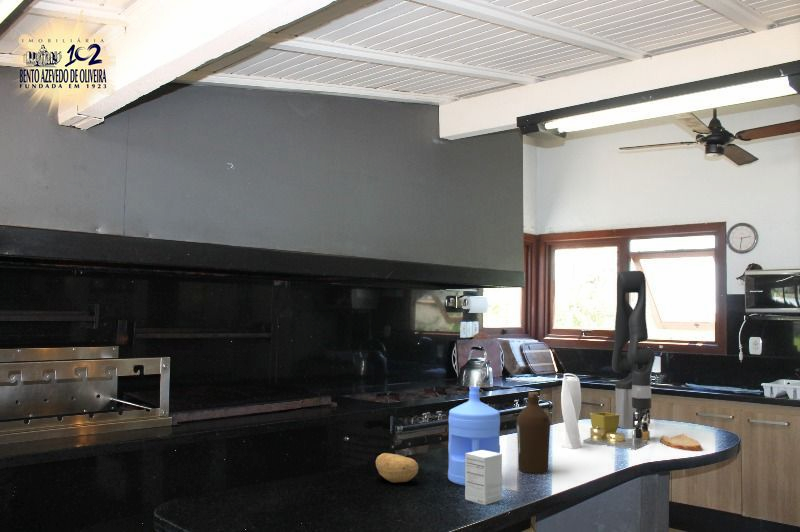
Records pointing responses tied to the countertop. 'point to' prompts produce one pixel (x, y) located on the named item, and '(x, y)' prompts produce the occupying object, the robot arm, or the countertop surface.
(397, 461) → the potato
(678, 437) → the slice of bread
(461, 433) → the water jug
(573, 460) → the countertop surface
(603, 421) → the flower pot
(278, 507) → the countertop surface
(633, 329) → the robot arm
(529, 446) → the olive oil
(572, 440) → the skyscraper
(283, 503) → the countertop surface
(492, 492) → the supplement box
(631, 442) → the carrier
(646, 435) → the gold octagonal ring
